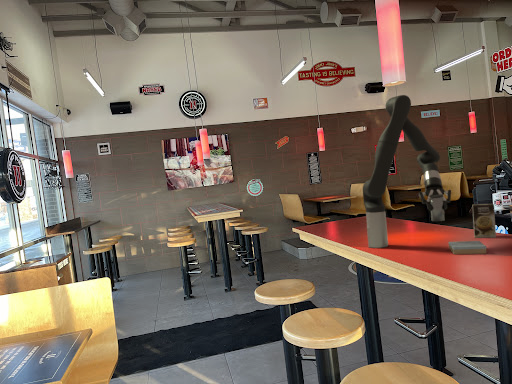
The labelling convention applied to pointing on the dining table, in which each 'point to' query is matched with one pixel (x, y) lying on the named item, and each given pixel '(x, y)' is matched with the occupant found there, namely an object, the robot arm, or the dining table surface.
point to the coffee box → (484, 221)
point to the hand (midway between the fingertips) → (437, 209)
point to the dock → (467, 247)
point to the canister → (437, 207)
